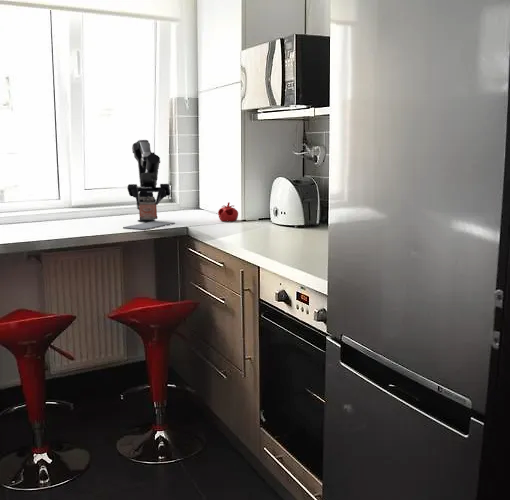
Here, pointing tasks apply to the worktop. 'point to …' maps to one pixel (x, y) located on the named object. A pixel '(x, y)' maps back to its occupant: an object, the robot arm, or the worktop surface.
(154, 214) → the lighter
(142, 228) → the mat
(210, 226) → the worktop surface
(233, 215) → the pomegranate
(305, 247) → the worktop surface
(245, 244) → the worktop surface
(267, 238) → the worktop surface
